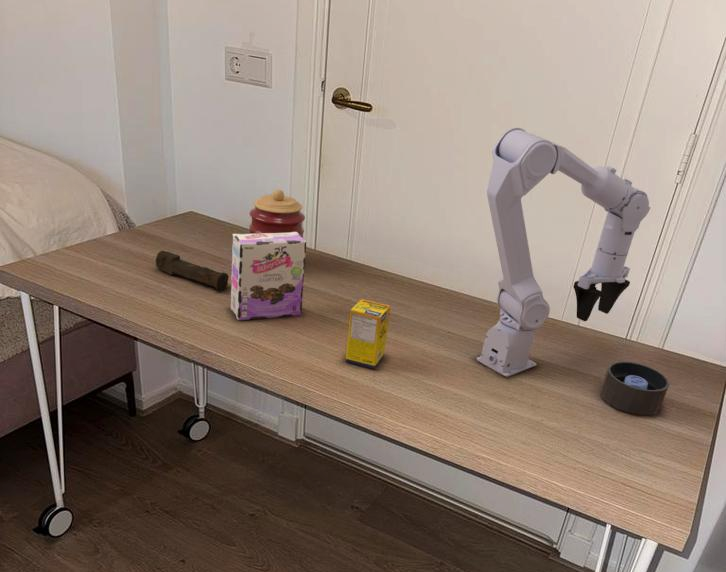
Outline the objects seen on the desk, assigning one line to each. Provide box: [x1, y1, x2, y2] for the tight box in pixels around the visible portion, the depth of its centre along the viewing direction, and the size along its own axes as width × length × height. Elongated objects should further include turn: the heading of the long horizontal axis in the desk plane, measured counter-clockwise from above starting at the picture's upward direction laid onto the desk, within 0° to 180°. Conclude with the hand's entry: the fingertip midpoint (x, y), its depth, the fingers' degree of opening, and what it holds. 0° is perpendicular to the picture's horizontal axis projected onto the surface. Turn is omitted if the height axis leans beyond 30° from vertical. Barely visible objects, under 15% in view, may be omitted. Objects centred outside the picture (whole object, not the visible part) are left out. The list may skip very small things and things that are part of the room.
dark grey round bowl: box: [600, 360, 670, 416], centre depth 132 cm, size 11×11×6 cm
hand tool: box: [155, 250, 230, 293], centre depth 158 cm, size 19×4×5 cm, turn 60°
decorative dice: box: [623, 375, 648, 390], centre depth 132 cm, size 4×4×4 cm
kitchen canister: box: [248, 188, 306, 238], centre depth 169 cm, size 13×13×18 cm
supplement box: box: [345, 298, 391, 370], centre depth 133 cm, size 6×6×11 cm
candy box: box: [230, 232, 307, 321], centre depth 145 cm, size 14×6×16 cm, turn 114°
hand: (592, 315), depth 143 cm, fingers open, 7 cm apart
